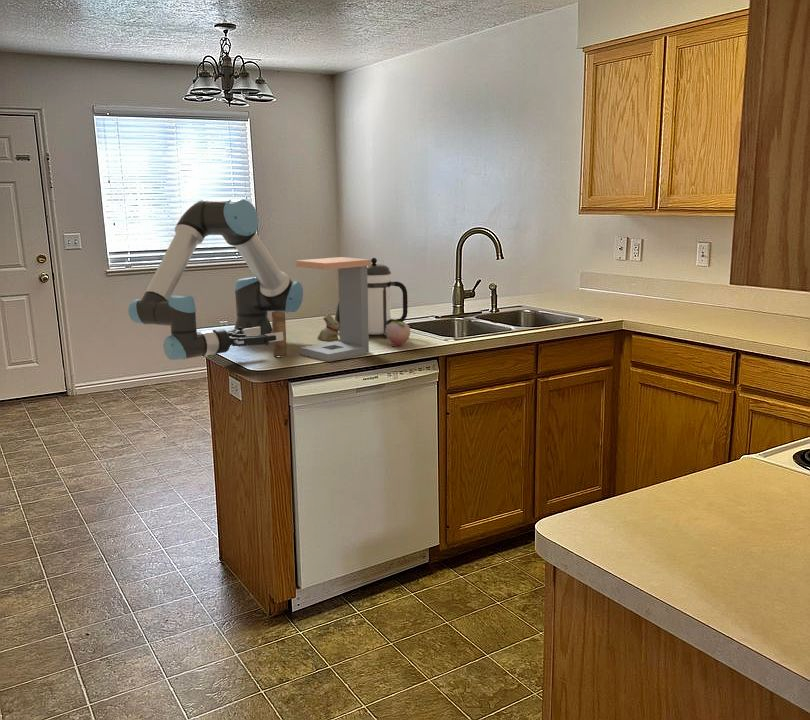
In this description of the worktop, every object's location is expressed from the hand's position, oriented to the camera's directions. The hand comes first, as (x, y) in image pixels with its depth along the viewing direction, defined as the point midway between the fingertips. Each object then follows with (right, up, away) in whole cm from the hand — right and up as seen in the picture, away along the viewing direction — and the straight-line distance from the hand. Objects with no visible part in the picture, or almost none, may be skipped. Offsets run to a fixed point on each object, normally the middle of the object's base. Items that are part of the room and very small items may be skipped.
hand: (271, 333), depth 248 cm
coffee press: (+34, 0, +39) cm, 52 cm away
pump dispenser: (+22, +2, +47) cm, 52 cm away
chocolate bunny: (+16, -1, +33) cm, 37 cm away
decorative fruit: (+42, -4, +20) cm, 47 cm away
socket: (+21, -7, +7) cm, 23 cm away
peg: (+2, -8, +4) cm, 9 cm away
